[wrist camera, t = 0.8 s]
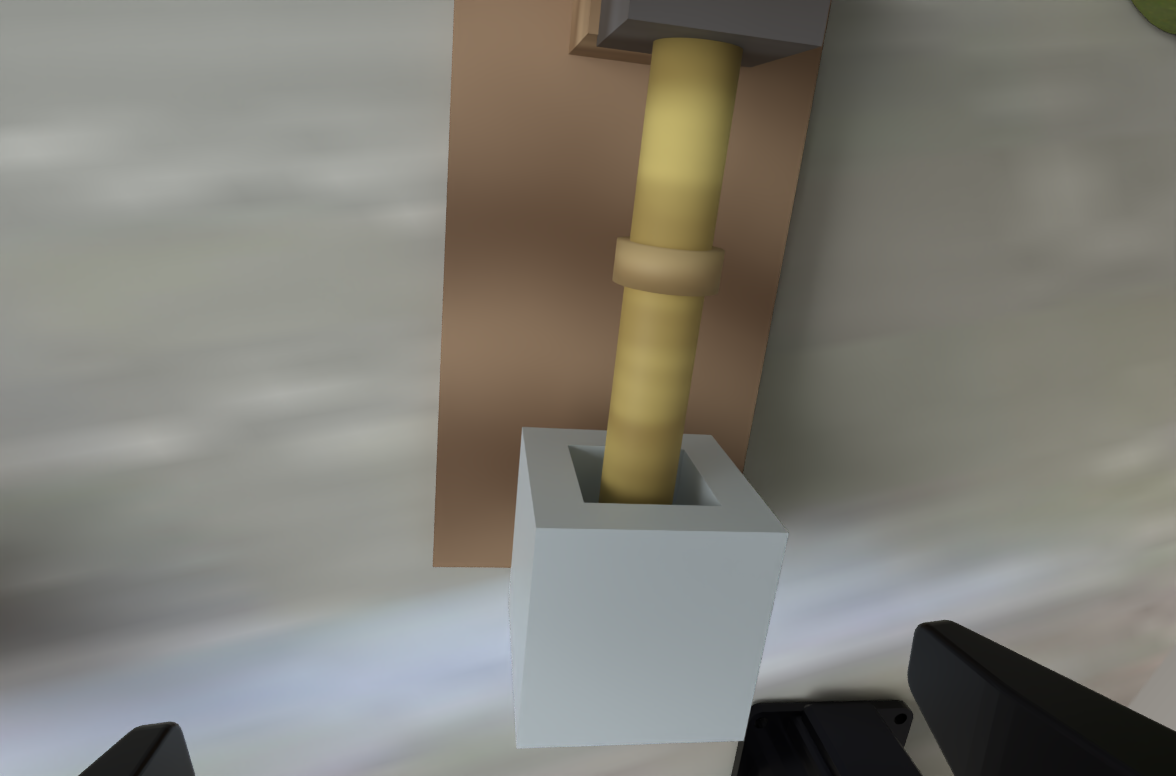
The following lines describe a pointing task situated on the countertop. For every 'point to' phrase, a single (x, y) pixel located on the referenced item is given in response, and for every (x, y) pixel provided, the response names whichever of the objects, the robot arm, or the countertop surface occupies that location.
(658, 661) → the white cube with hole
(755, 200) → the cord clamp board
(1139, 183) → the countertop surface
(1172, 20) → the plant pot
